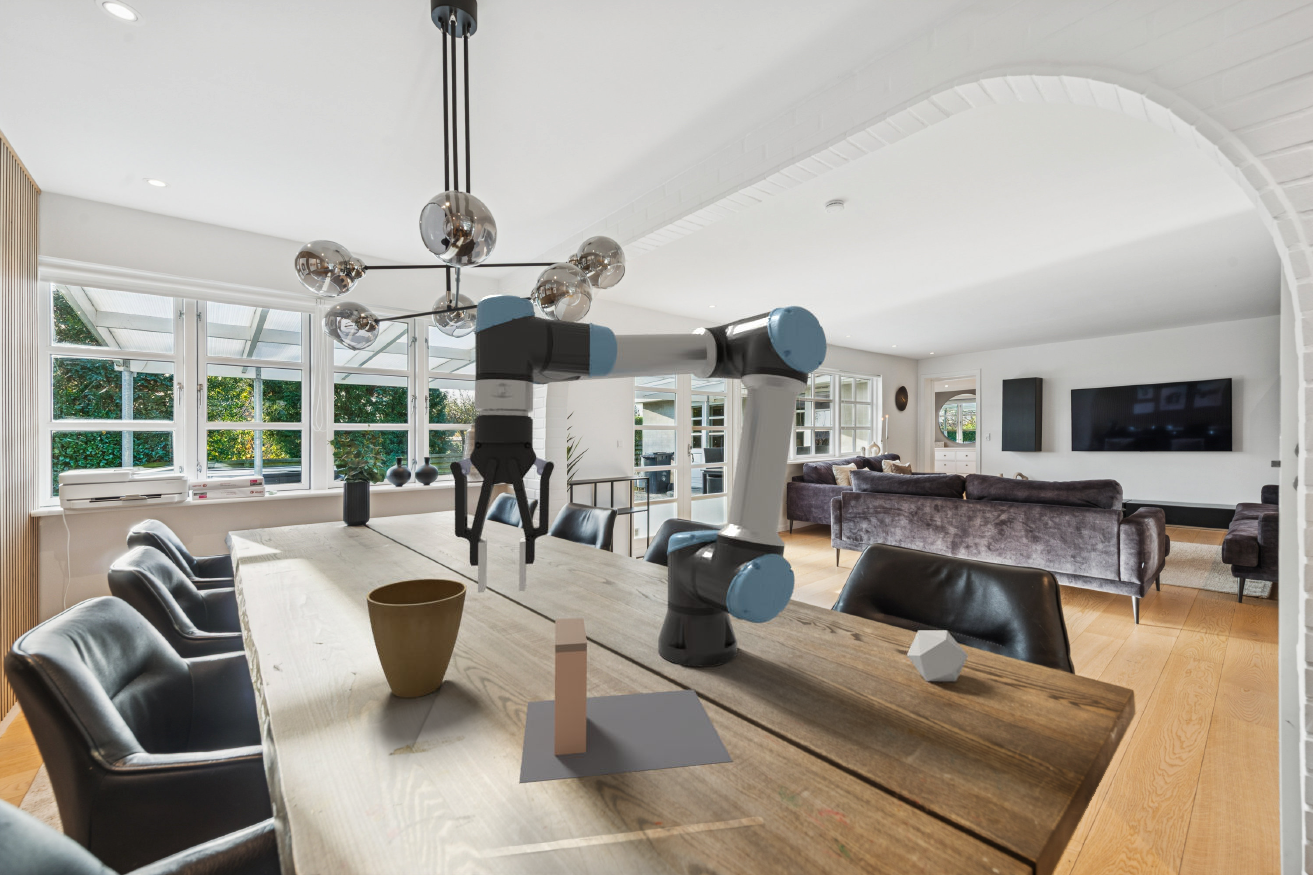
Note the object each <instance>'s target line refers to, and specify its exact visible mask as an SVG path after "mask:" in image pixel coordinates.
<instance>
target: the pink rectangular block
mask: <svg viewBox="0 0 1313 875" xmlns="http://www.w3.org/2000/svg"><path fill="white" fill-rule="evenodd" d="M554 621H555V622H554V624H555V629H554V630H555V632H554V634H555V637H554V640H555V641H554V648H555V649H554V700H555V733H554V755H562V754H573V753H584V752H586V700H587V688H588V687H587V686H588V683H587V682H588V680H587V678H588V677H587V675H588V672H587V670H588V669H587V668H588V667H587V665H588V642H587V641H588V640H587V633H586V628H585V620H584V617H579V618H578V617H577V618H559V619H558V618H557V619H555V620H554Z"/></svg>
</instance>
